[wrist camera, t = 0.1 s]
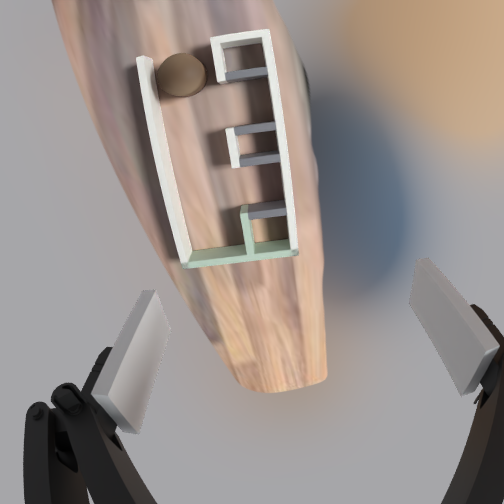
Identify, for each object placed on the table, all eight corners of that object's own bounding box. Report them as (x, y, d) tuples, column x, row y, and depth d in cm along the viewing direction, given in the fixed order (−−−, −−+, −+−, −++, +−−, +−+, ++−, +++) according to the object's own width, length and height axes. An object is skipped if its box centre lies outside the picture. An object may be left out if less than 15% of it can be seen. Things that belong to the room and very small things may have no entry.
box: (145, 61, 31) (136, 57, 28) (268, 35, 30) (269, 28, 27) (187, 257, 45) (182, 269, 42) (295, 244, 44) (298, 255, 40)
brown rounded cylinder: (164, 64, 32) (154, 60, 28) (204, 54, 31) (198, 48, 28) (170, 100, 34) (161, 100, 31) (210, 91, 34) (205, 89, 30)
